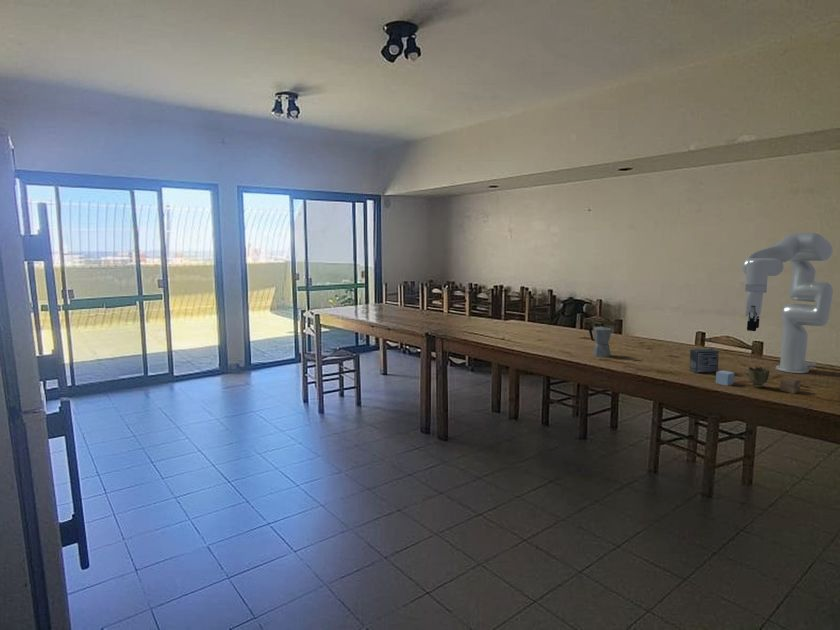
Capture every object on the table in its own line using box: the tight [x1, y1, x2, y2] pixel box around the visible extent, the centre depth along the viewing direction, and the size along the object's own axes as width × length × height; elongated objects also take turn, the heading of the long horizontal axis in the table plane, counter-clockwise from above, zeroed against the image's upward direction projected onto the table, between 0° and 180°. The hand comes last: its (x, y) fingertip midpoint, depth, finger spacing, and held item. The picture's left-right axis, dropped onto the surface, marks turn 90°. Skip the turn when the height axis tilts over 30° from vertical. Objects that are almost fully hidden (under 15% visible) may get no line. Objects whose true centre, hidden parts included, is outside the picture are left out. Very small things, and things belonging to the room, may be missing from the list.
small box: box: [689, 348, 719, 374], centre depth 241 cm, size 11×6×10 cm, turn 92°
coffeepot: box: [588, 322, 614, 358], centre depth 280 cm, size 15×9×18 cm, turn 33°
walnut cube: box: [779, 376, 802, 394], centre depth 208 cm, size 5×5×5 cm
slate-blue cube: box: [715, 369, 736, 386], centre depth 221 cm, size 5×5×5 cm
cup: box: [748, 366, 771, 389], centre depth 214 cm, size 8×7×8 cm
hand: (752, 329), depth 214 cm, fingers open, 9 cm apart
